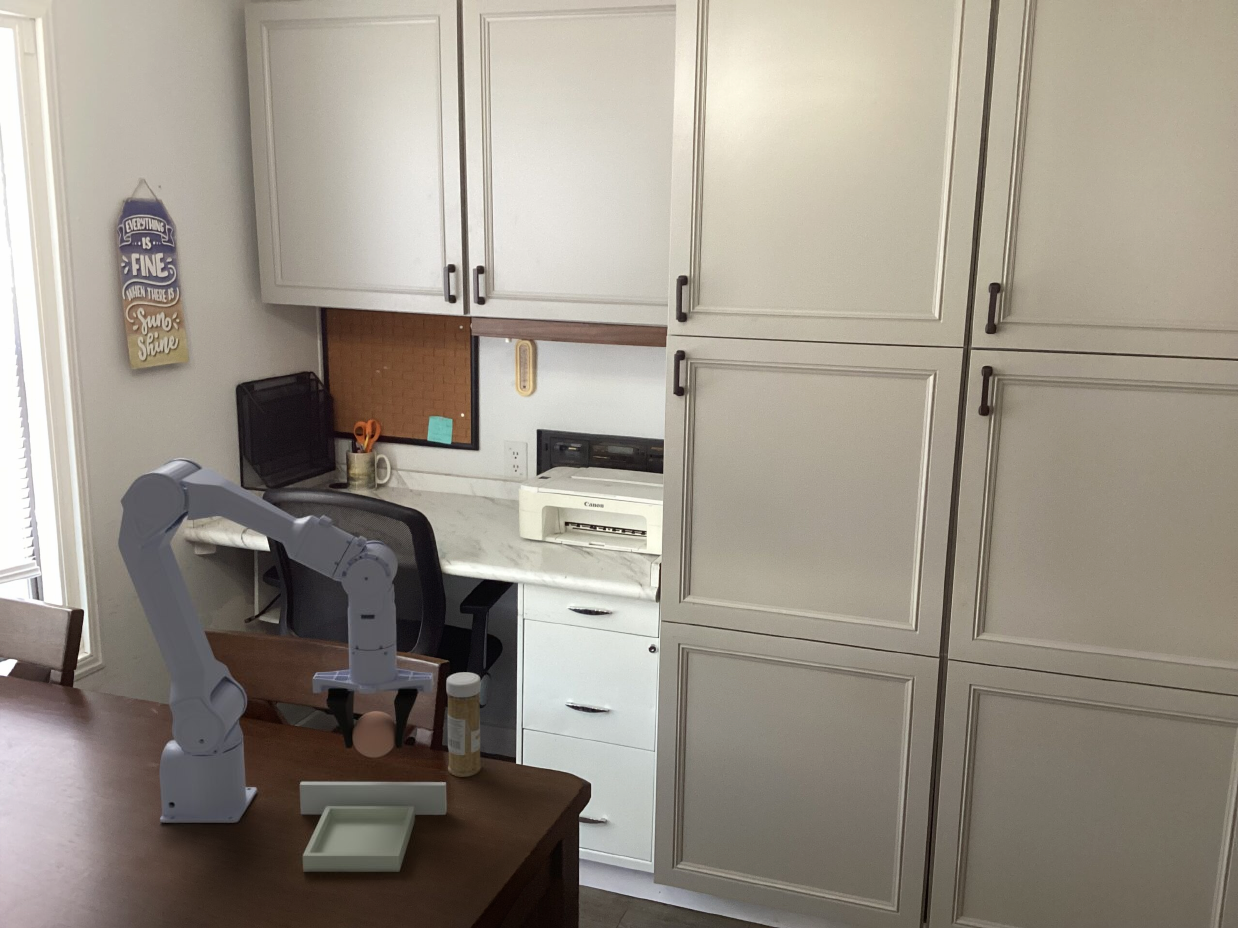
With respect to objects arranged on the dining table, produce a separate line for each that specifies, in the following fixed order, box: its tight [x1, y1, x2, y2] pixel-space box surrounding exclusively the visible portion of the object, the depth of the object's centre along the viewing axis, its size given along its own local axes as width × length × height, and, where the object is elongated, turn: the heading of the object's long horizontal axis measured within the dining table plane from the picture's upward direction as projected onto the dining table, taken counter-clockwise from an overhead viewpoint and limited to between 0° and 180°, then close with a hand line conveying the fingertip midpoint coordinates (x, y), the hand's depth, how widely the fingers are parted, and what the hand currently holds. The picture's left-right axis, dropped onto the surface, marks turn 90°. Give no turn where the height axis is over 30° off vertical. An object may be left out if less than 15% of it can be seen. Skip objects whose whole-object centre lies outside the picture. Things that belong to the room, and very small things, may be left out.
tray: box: [302, 806, 416, 873], centre depth 121 cm, size 11×11×2 cm
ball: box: [352, 710, 396, 758], centre depth 128 cm, size 6×6×6 cm
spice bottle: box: [445, 671, 482, 778], centre depth 139 cm, size 5×5×14 cm
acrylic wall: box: [299, 781, 447, 816], centre depth 128 cm, size 18×1×4 cm, turn 92°
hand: (375, 744), depth 129 cm, fingers closed on ball, 6 cm apart
